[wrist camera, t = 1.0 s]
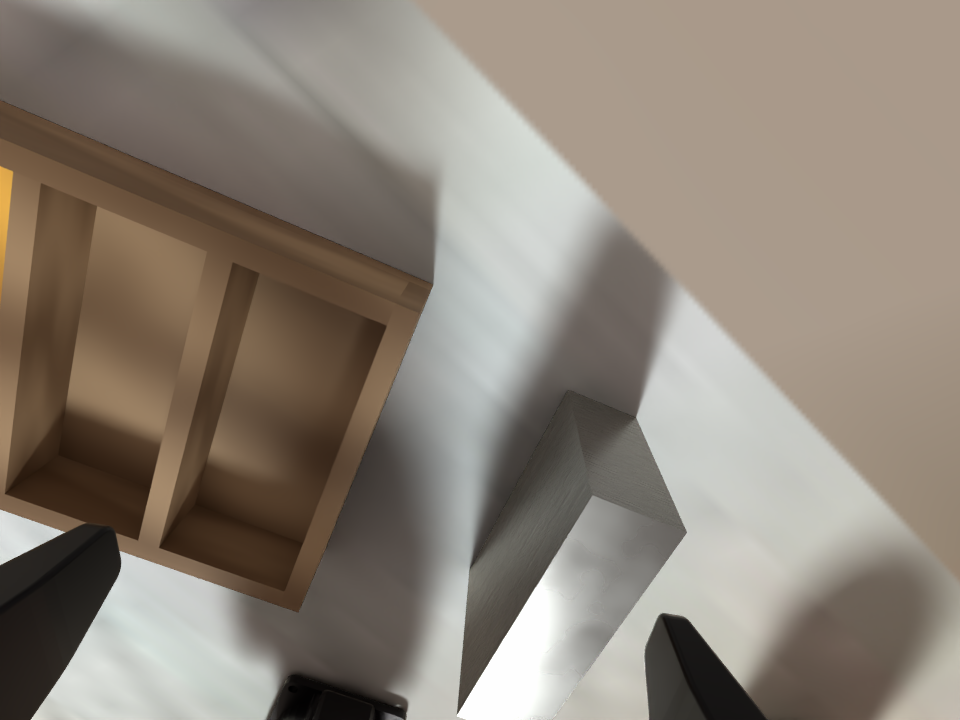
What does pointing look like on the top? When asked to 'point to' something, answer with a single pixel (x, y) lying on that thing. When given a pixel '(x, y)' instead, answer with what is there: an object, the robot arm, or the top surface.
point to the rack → (183, 363)
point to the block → (563, 563)
